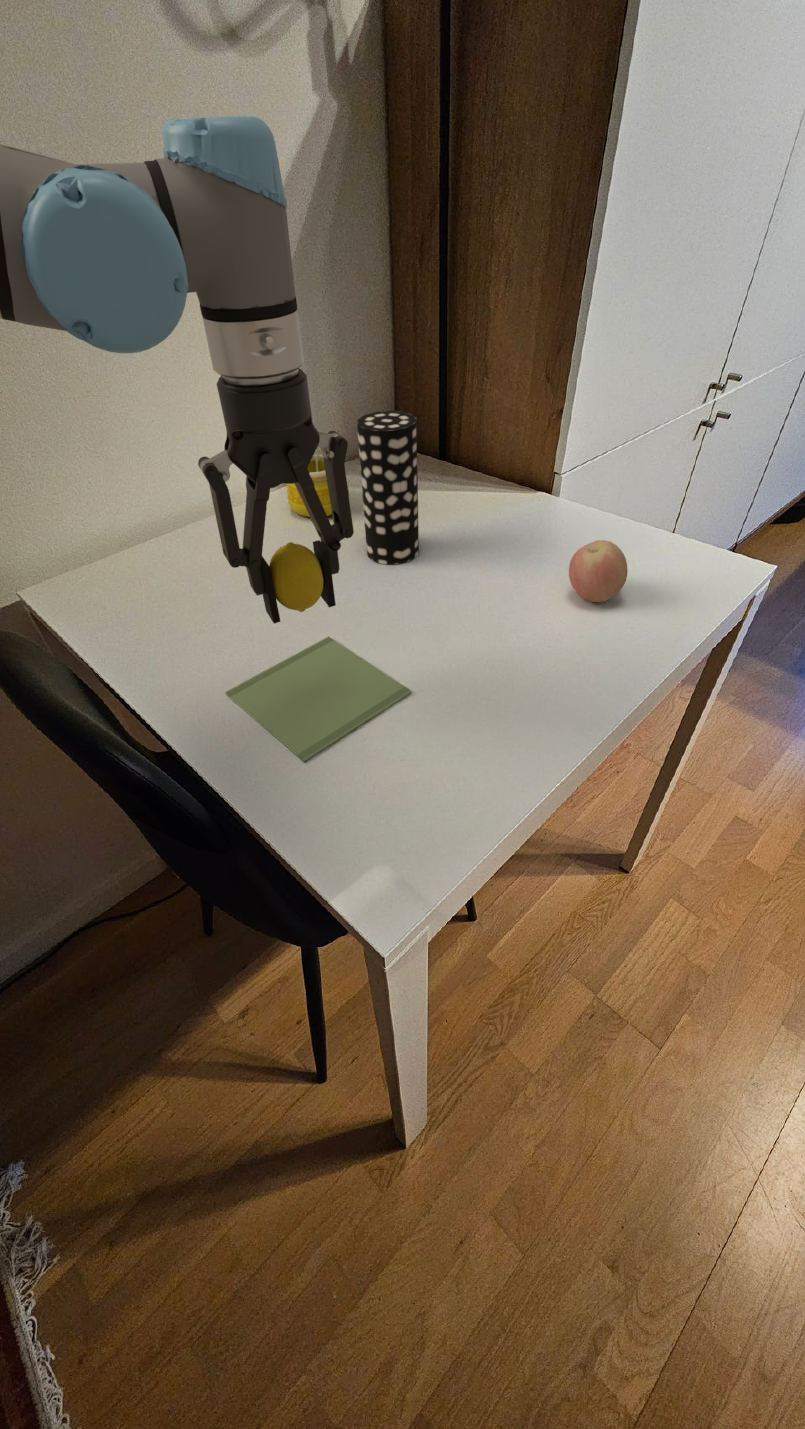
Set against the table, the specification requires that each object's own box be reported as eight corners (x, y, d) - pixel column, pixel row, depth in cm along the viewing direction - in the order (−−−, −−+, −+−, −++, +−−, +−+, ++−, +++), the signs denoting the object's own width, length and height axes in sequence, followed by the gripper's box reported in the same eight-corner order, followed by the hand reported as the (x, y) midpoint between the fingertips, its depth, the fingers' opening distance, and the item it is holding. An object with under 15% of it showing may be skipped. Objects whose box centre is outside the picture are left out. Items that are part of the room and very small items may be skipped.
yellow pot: (348, 520, 109) (341, 450, 101) (285, 522, 110) (273, 452, 102) (353, 490, 119) (347, 423, 111) (295, 491, 119) (285, 425, 111)
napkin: (304, 762, 68) (303, 760, 67) (225, 694, 76) (224, 692, 76) (411, 693, 75) (411, 690, 75) (328, 638, 84) (328, 636, 84)
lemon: (335, 601, 69) (326, 533, 64) (314, 629, 65) (302, 560, 60) (290, 594, 71) (278, 527, 65) (267, 621, 67) (252, 552, 62)
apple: (585, 576, 93) (594, 526, 88) (631, 595, 89) (644, 543, 84) (553, 598, 89) (561, 546, 84) (600, 619, 85) (611, 566, 80)
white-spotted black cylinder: (358, 559, 99) (346, 427, 86) (379, 536, 105) (371, 408, 91) (407, 568, 97) (403, 433, 83) (426, 543, 102) (425, 414, 89)
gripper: (155, 403, 47) (225, 652, 63) (380, 365, 53) (393, 601, 68) (139, 379, 52) (207, 615, 68) (346, 346, 58) (365, 571, 73)
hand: (300, 608), depth 68 cm, fingers closed on lemon, 6 cm apart
